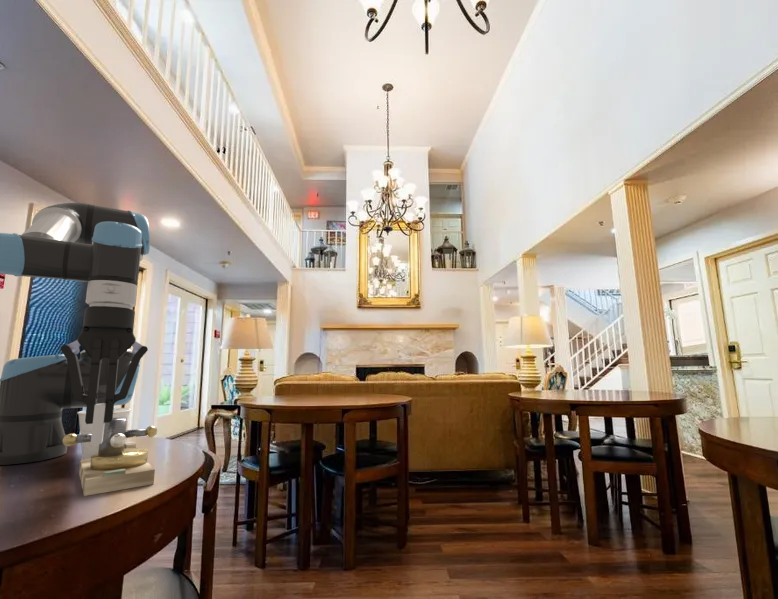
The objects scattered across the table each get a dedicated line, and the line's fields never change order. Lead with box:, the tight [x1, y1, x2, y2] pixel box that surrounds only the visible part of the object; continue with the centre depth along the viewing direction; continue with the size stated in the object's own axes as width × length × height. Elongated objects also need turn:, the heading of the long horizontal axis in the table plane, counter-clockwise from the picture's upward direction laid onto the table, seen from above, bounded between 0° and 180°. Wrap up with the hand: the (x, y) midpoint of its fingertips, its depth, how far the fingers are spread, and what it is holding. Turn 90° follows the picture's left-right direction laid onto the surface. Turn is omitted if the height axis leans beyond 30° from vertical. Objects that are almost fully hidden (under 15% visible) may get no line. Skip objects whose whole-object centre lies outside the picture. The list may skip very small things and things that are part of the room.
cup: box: [76, 407, 132, 459], centre depth 89 cm, size 10×10×11 cm
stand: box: [78, 441, 156, 497], centre depth 76 cm, size 18×10×5 cm, turn 40°
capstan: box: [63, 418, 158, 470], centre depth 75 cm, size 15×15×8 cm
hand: (96, 442), depth 69 cm, fingers closed
